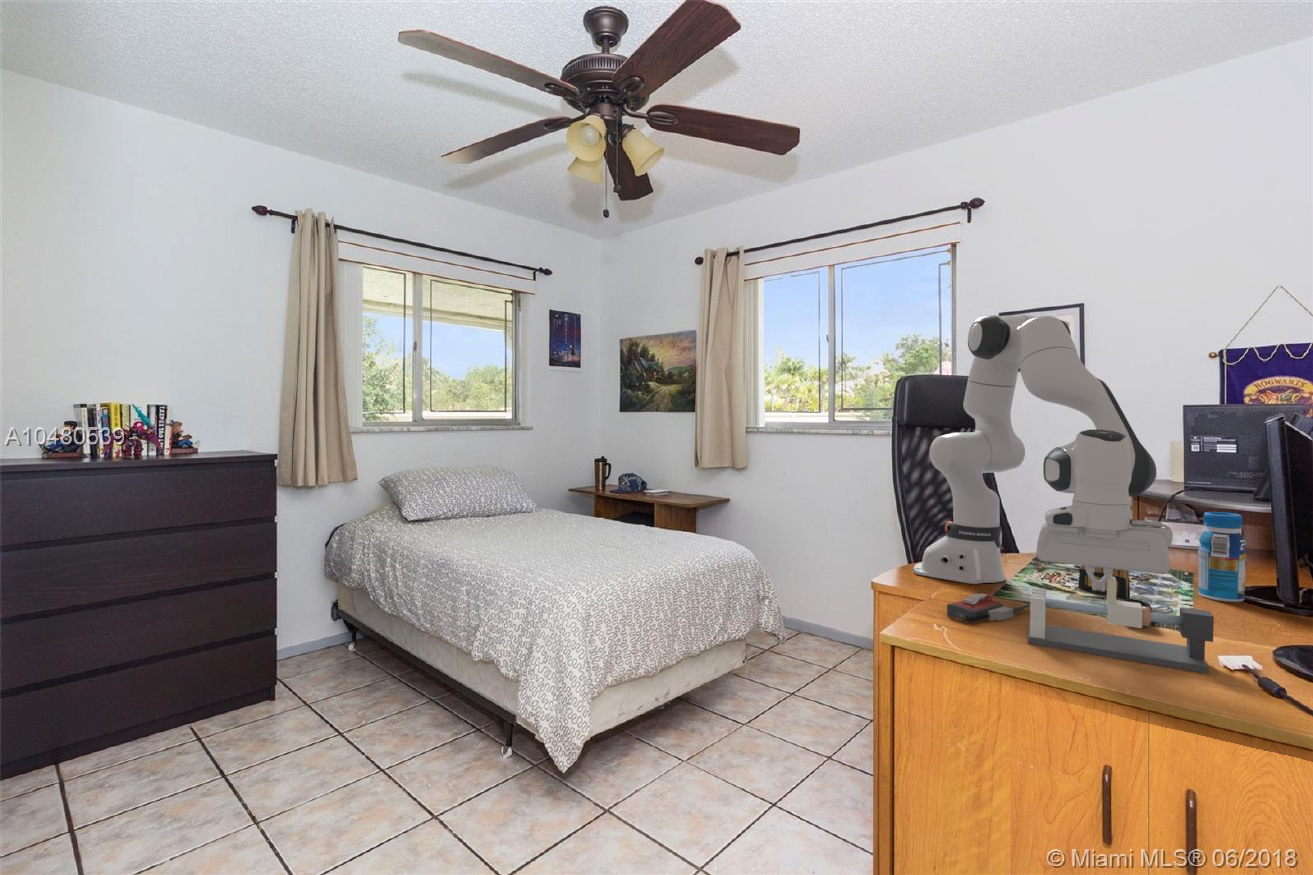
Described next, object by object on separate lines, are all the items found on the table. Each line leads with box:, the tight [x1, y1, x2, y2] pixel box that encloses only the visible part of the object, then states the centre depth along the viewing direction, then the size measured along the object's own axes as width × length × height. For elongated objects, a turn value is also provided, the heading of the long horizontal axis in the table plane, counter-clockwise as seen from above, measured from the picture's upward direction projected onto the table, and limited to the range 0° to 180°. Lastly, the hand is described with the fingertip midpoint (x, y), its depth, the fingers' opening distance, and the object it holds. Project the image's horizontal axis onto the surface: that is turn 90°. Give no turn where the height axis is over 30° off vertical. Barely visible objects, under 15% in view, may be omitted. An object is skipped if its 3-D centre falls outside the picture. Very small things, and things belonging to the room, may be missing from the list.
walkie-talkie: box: [946, 592, 1030, 624], centre depth 135 cm, size 9×4×20 cm
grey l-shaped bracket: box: [1105, 576, 1143, 629], centre depth 113 cm, size 5×4×8 cm
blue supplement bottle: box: [1197, 511, 1247, 603], centre depth 145 cm, size 8×8×20 cm
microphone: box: [1124, 598, 1152, 627], centre depth 132 cm, size 6×6×20 cm
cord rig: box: [1027, 587, 1215, 675], centre depth 114 cm, size 27×10×9 cm, turn 57°
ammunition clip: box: [1078, 565, 1131, 601], centre depth 150 cm, size 11×2×12 cm, turn 26°
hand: (1098, 590), depth 115 cm, fingers closed
